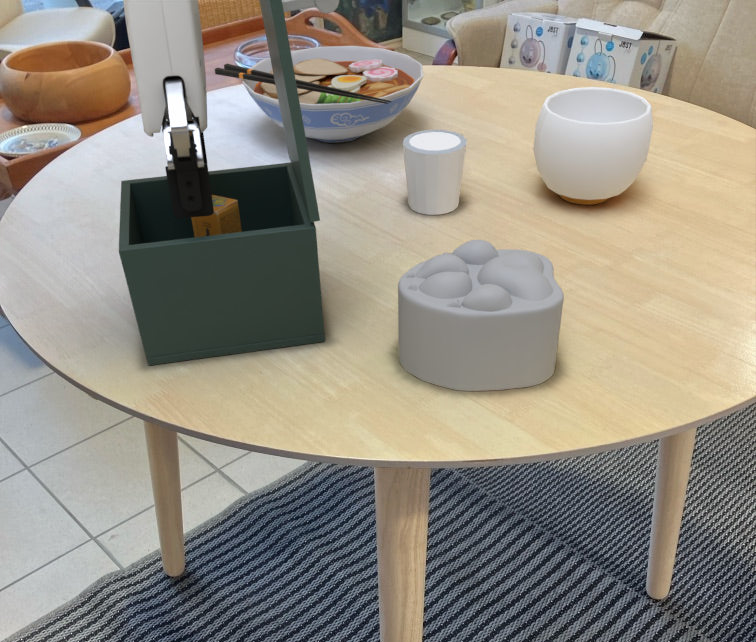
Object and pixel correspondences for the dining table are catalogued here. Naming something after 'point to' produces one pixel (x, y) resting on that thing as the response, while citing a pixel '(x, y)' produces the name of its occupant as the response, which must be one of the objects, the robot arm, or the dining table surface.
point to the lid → (291, 90)
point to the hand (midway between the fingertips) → (191, 190)
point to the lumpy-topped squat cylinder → (480, 318)
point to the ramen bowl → (338, 89)
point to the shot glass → (434, 170)
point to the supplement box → (219, 218)
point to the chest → (222, 268)
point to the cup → (592, 142)
